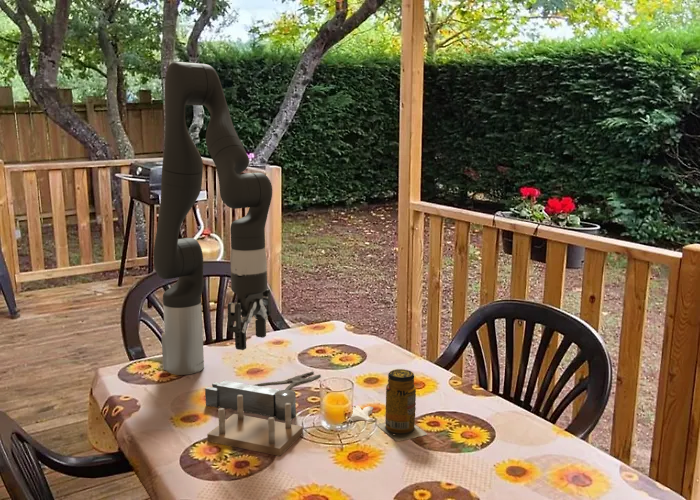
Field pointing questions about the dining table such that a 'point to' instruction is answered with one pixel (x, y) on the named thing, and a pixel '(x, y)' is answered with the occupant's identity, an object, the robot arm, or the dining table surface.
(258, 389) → the grey metal bar
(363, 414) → the acanthus leaf ornament
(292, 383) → the pliers
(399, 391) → the condiment
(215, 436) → the rack
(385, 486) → the dining table surface
